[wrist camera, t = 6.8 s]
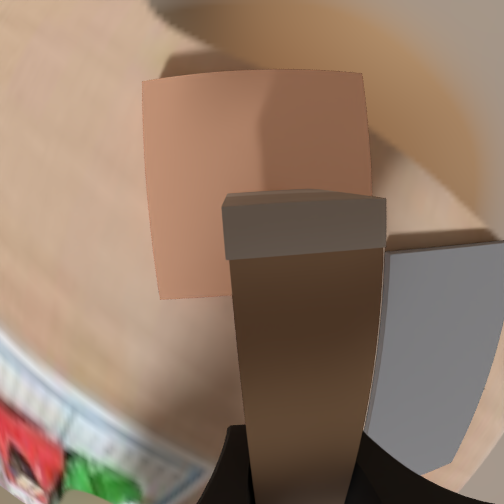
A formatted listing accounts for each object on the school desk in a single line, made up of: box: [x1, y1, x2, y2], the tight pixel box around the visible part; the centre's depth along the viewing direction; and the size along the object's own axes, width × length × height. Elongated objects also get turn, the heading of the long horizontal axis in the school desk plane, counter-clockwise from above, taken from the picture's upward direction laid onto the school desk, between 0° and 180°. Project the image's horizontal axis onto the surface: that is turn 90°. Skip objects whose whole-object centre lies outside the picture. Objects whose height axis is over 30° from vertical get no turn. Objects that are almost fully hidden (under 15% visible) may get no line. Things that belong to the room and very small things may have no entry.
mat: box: [364, 240, 504, 475], centre depth 17 cm, size 20×10×1 cm, turn 4°
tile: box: [142, 69, 372, 300], centre depth 13 cm, size 2×9×9 cm
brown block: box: [221, 189, 386, 504], centre depth 9 cm, size 15×3×5 cm, turn 4°
